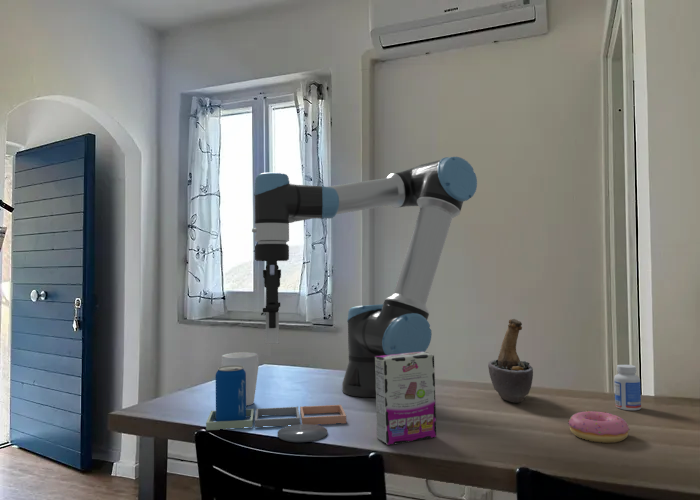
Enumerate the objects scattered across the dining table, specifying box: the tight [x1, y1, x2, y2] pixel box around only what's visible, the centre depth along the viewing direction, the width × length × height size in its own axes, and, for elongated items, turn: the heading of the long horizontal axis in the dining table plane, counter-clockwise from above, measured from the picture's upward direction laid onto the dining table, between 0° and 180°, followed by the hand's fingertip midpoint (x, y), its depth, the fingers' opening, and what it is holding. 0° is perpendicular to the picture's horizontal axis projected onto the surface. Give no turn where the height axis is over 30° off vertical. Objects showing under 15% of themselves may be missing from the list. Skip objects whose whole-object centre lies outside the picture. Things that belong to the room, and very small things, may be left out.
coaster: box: [277, 423, 328, 443], centre depth 113 cm, size 10×10×1 cm
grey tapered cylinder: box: [221, 351, 259, 407], centre depth 139 cm, size 9×9×12 cm
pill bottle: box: [613, 364, 642, 411], centre depth 130 cm, size 6×5×10 cm
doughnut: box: [567, 410, 630, 444], centre depth 110 cm, size 11×11×4 cm
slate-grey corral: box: [254, 406, 301, 428], centre depth 123 cm, size 10×10×2 cm
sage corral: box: [205, 408, 255, 431], centre depth 122 cm, size 10×10×2 cm
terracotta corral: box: [299, 404, 347, 425], centre depth 125 cm, size 10×10×2 cm
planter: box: [488, 318, 534, 404], centre depth 140 cm, size 15×17×20 cm
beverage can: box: [215, 365, 247, 422], centre depth 122 cm, size 6×6×12 cm
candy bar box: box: [375, 351, 437, 446], centre depth 110 cm, size 11×5×16 cm, turn 114°
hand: (272, 339), depth 124 cm, fingers open, 13 cm apart
